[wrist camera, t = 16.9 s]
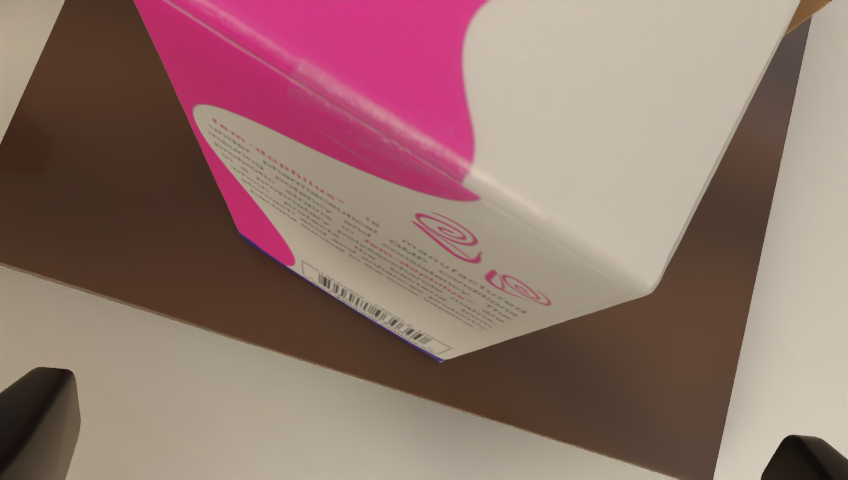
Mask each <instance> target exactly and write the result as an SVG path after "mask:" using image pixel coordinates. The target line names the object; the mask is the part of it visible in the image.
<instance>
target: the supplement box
mask: <svg viewBox="0 0 848 480" xmlns="http://www.w3.org/2000/svg"><path fill="white" fill-rule="evenodd" d="M133 1H134V3H135V5H136V7H137V9H138V12H139V14H140V16H141V18H142V20H143V22H144V24H145V27H146V29H147V31H148V33H149V35H150V37H151V39H152V42H153V44H154V46H155V48H156V50H157V52H158V54H159V57H160V59H161V61H162V63H163V65H164V68H165V70H166V72H167V74H168V76H169V79H170V81H171V83H172V85H173V88H174V90H175V92H176V95H177V97H178V99H179V101H180V103H181V105H182V107H183V109H184V112H185V114H186V116H187V119H188V121H189V123H190V125H191V128H192V130H193V132H194V134H195V136H196V138H197V140H198V143H199V145H200V147H201V149H202V152H203V154H204V156H205V158H206V161H207V163H208V165H209V168H210V170H211V172H212V174H213V176H214V178H215V180H216V183H217V185H218V187H219V189H220V191H221V193H222V195H223V197H224V199H225V202H226V204H227V207H228V209H229V211H230V213H231V215H232V218H233V220H234V223H235V225H236V227H237V230H238V233H239V235H240V236H241V237H242V238H243V239H245V240H246V241H247V242H248V243H249V244H250V245H252V246H253V247H255V248H256V249H258V250H259V251H261V252H262V253H264V254H265V255H267V256H268V257H270V258H271V259H273V260H274V261H276V262H277V263H279V264H281V265H282V266H284V267H285V268H287V269H288V270H290V271H291V272H293V273H295V274H296V275H298V276H299V277H301V278H302V279H304V280H306V281H307V282H309V283H310V284H312V285H314V286H315V287H317V288H318V289H320V290H322V291H323V292H325V293H326V294H328V295H330V296H331V297H333V298H334V299H336V300H338V301H339V302H341V303H342V304H344V305H346V306H347V307H349V308H350V309H352V310H353V311H355V312H357V313H358V314H360V315H361V316H363V317H365V318H366V319H368V320H370V321H371V322H373V323H375V324H376V325H378V326H379V327H381V328H383V329H384V330H386V331H388V332H389V333H391V334H393V335H394V336H396V337H398V338H399V339H401V340H402V341H404V342H406V343H408V344H409V345H411V346H413V347H414V348H416V349H418V350H420V351H421V352H423V353H425V354H426V355H428V356H430V357H431V358H433V359H435V360H436V361H438V362H441V363H442V362H444V361H446V360H447V359H452V358H455V357H457V356H460V355H463V354H467V353H470V352H473V351H476V350H480V349H482V348H485V347H488V346H491V345H494V344H497V343H500V342H503V341H506V340H509V339H512V338H514V337H518V336H521V335H524V334H528V333H531V332H534V331H537V330H540V329H543V328H547V327H549V326H551V325H555V324H559V323H562V322H564V321H567V320H570V319H574V318H577V317H580V316H583V315H586V314H590V313H594V312H596V311H599V310H603V309H606V308H609V307H612V306H615V305H618V304H621V303H624V302H627V301H630V300H634V299H637V298H640V297H643V296H647V295H648V294H650V293H652V292H653V291H654V290H655V288H656V287H657V285H658V284H659V282H660V281H661V278H662V276H663V274H664V272H665V270H666V268H667V266H668V264H669V262H670V260H671V258H672V256H673V255H674V253H675V251H676V249H677V247H678V245H679V243H680V241H681V239H682V237H683V235H684V233H685V231H686V229H687V227H688V225H689V223H690V221H691V219H692V217H693V215H694V213H695V211H696V209H697V207H698V205H699V203H700V201H701V199H702V197H703V195H704V193H705V191H706V189H707V187H708V185H709V183H710V181H711V179H712V177H713V175H714V173H715V171H716V169H717V167H718V165H719V163H720V161H721V159H722V157H723V155H724V153H725V151H726V149H727V147H728V145H729V143H730V141H731V139H732V137H733V135H734V133H735V131H736V129H737V127H738V125H739V123H740V121H741V119H742V117H743V115H744V113H745V111H746V109H747V107H748V105H749V103H750V101H751V99H752V97H753V95H754V93H755V91H756V89H757V87H758V85H759V83H760V81H761V79H762V77H763V75H764V73H765V71H766V69H767V67H768V65H769V64H770V62H771V60H772V58H773V56H774V54H775V52H776V50H777V48H778V46H779V44H780V42H781V40H782V38H783V36H784V34H785V32H786V30H787V28H788V26H789V24H790V22H791V20H792V18H793V15H794V13H795V11H796V9H797V7H798V5H799V3H800V1H801V0H133Z"/></svg>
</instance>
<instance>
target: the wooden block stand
mask: <svg viewBox="0 0 848 480" xmlns="http://www.w3.org/2000/svg"><path fill="white" fill-rule="evenodd" d="M830 1H832V0H801V1H800V3H799V5H798V7H797V9H796V11H795V13H794V15H793V18H792V20H791V22H790V24H789V26H788V28H787V30H786V32H785V34H784V36H783V38H782V40H781V42H780V44H779V46H778V48H777V50H776V52H775V54H774V56H773V58H772V60H771V62H770V64H769V65H768V67H767V69H766V71H765V73H764V75H763V77H762V79H761V81H760V83H759V85H758V87H757V89H756V91H755V93H754V95H753V97H752V99H751V101H750V103H749V105H748V107H747V109H746V111H745V113H744V115H743V117H742V119H741V121H740V123H739V125H738V127H737V129H736V131H735V133H734V135H733V137H732V139H731V141H730V143H729V145H728V147H727V149H726V151H725V153H724V155H723V157H722V159H721V161H720V163H719V165H718V167H717V169H716V171H715V173H714V175H713V177H712V179H711V181H710V183H709V185H708V187H707V189H706V191H705V193H704V195H703V197H702V199H701V201H700V203H699V205H698V207H697V209H696V211H695V213H694V215H693V217H692V219H691V221H690V223H689V225H688V227H687V229H686V231H685V233H684V235H683V237H682V239H681V241H680V243H679V245H678V247H677V249H676V251H675V253H674V255H673V256H672V258H671V260H670V262H669V264H668V266H667V268H666V270H665V272H664V274H663V276H662V278H661V281H660V282H659V284H658V285H657V287H656V288H655V290H654V291H653V292H652V293H650V294H648V295H647V296H643V297H640V298H637V299H634V300H630V301H627V302H624V303H621V304H618V305H615V306H612V307H609V308H606V309H603V310H599V311H596V312H594V313H590V314H586V315H583V316H580V317H577V318H574V319H570V320H567V321H564V322H562V323H559V324H555V325H551V326H549V327H547V328H543V329H540V330H537V331H534V332H531V333H528V334H524V335H521V336H518V337H514V338H512V339H509V340H506V341H503V342H500V343H497V344H494V345H491V346H488V347H485V348H482V349H480V350H476V351H473V352H470V353H467V354H463V355H460V356H457V357H455V358H452V359H447V360H446V361H444V362H442V363H441V362H438V361H436V360H435V359H433V358H431V357H430V356H428V355H426V354H425V353H423V352H421V351H420V350H418V349H416V348H414V347H413V346H411V345H409V344H408V343H406V342H404V341H402V340H401V339H399V338H398V337H396V336H394V335H393V334H391V333H389V332H388V331H386V330H384V329H383V328H381V327H379V326H378V325H376V324H375V323H373V322H371V321H370V320H368V319H366V318H365V317H363V316H361V315H360V314H358V313H357V312H355V311H353V310H352V309H350V308H349V307H347V306H346V305H344V304H342V303H341V302H339V301H338V300H336V299H334V298H333V297H331V296H330V295H328V294H326V293H325V292H323V291H322V290H320V289H318V288H317V287H315V286H314V285H312V284H310V283H309V282H307V281H306V280H304V279H302V278H301V277H299V276H298V275H296V274H295V273H293V272H291V271H290V270H288V269H287V268H285V267H284V266H282V265H281V264H279V263H277V262H276V261H274V260H273V259H271V258H270V257H268V256H267V255H265V254H264V253H262V252H261V251H259V250H258V249H256V248H255V247H253V246H252V245H250V244H249V243H248V242H247V241H246V240H245V239H243V238H242V237H241V236H240V235H239V233H238V230H237V227H236V225H235V223H234V220H233V218H232V215H231V213H230V211H229V209H228V207H227V204H226V202H225V199H224V197H223V195H222V193H221V191H220V189H219V187H218V185H217V183H216V180H215V178H214V176H213V174H212V172H211V170H210V168H209V165H208V163H207V161H206V158H205V156H204V154H203V152H202V149H201V147H200V145H199V143H198V140H197V138H196V136H195V134H194V132H193V130H192V128H191V125H190V123H189V121H188V119H187V116H186V114H185V112H184V109H183V107H182V105H181V103H180V101H179V99H178V97H177V95H176V92H175V90H174V88H173V85H172V83H171V81H170V79H169V76H168V74H167V72H166V70H165V68H164V65H163V63H162V61H161V59H160V57H159V54H158V52H157V50H156V48H155V46H154V44H153V42H152V39H151V37H150V35H149V33H148V31H147V29H146V27H145V24H144V22H143V20H142V18H141V16H140V14H139V12H138V9H137V7H136V5H135V3H134V1H133V0H65V2H64V5H63V7H62V9H61V11H60V13H59V16H58V18H57V20H56V22H55V25H54V27H53V29H52V31H51V33H50V36H49V38H48V40H47V42H46V44H45V47H44V49H43V51H42V53H41V56H40V58H39V60H38V62H37V64H36V67H35V69H34V71H33V73H32V75H31V78H30V80H29V82H28V84H27V87H26V89H25V91H24V93H23V95H22V98H21V100H20V102H19V104H18V106H17V109H16V111H15V113H14V115H13V118H12V120H11V122H10V124H9V126H8V129H7V131H6V133H5V135H4V137H3V140H2V142H1V144H0V266H3V267H6V268H10V269H13V270H16V271H19V272H22V273H25V274H29V275H32V276H35V277H38V278H41V279H45V280H48V281H51V282H54V283H57V284H60V285H64V286H67V287H70V288H73V289H76V290H79V291H83V292H86V293H89V294H92V295H95V296H98V297H102V298H105V299H108V300H111V301H114V302H117V303H121V304H124V305H127V306H130V307H133V308H137V309H140V310H143V311H146V312H149V313H152V314H156V315H159V316H162V317H165V318H168V319H171V320H175V321H178V322H181V323H184V324H187V325H190V326H194V327H197V328H200V329H203V330H206V331H209V332H213V333H216V334H219V335H222V336H225V337H229V338H232V339H235V340H238V341H241V342H244V343H248V344H251V345H254V346H257V347H260V348H263V349H267V350H270V351H273V352H276V353H279V354H282V355H286V356H289V357H292V358H295V359H298V360H301V361H305V362H308V363H311V364H314V365H317V366H321V367H324V368H327V369H330V370H333V371H336V372H340V373H343V374H346V375H349V376H352V377H355V378H359V379H362V380H365V381H368V382H371V383H374V384H378V385H381V386H384V387H387V388H390V389H393V390H397V391H400V392H403V393H406V394H409V395H413V396H416V397H419V398H422V399H425V400H428V401H432V402H435V403H438V404H441V405H444V406H447V407H451V408H454V409H457V410H460V411H463V412H466V413H470V414H473V415H476V416H479V417H482V418H485V419H489V420H492V421H495V422H498V423H501V424H505V425H508V426H511V427H514V428H517V429H520V430H524V431H527V432H530V433H533V434H536V435H539V436H543V437H546V438H549V439H552V440H555V441H558V442H562V443H565V444H568V445H571V446H574V447H577V448H581V449H584V450H587V451H590V452H593V453H597V454H600V455H603V456H606V457H609V458H612V459H616V460H619V461H622V462H625V463H628V464H631V465H635V466H638V467H641V468H644V469H647V470H650V471H654V472H657V473H660V474H663V475H666V476H670V477H673V478H676V479H679V480H713V477H714V472H715V467H716V463H717V458H718V453H719V448H720V444H721V439H722V434H723V430H724V425H725V420H726V416H727V411H728V406H729V402H730V397H731V392H732V387H733V383H734V378H735V373H736V369H737V364H738V359H739V355H740V350H741V345H742V341H743V336H744V331H745V326H746V322H747V317H748V312H749V308H750V303H751V298H752V294H753V289H754V284H755V280H756V275H757V270H758V266H759V261H760V256H761V251H762V247H763V242H764V237H765V233H766V228H767V223H768V219H769V214H770V209H771V205H772V200H773V195H774V190H775V186H776V181H777V176H778V172H779V167H780V162H781V158H782V153H783V148H784V144H785V139H786V134H787V129H788V125H789V120H790V115H791V111H792V106H793V101H794V97H795V92H796V87H797V83H798V78H799V73H800V69H801V64H802V59H803V54H804V50H805V45H806V40H807V36H808V31H809V26H810V22H811V17H812V15H813V14H814V13H816V12H817V11H818V10H820V9H821V8H822V7H824V6H825V5H826V4H828V3H829V2H830Z"/></svg>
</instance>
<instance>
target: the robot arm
mask: <svg viewBox="0 0 848 480" xmlns="http://www.w3.org/2000/svg"><path fill="white" fill-rule="evenodd" d="M80 422H81V418H80V409H79V401H78V393H77V385H76V379H75V375H74V374H73V372H72V371H70V370H68V369H58V368H47V367H38V368H35V369H33V370H31V371H29V372H28V373H27V374H25V375H24V376H23V377H21V378H20V379H19V380H17V381H16V382H14V383H13V384H12V385H10V386H9V387H8V388H6V389H5V390H4V391H2V392H1V393H0V480H65V479H66V476H67V472H68V469H69V466H70V462H71V459H72V456H73V453H74V449H75V446H76V443H77V440H78V436H79V431H80ZM761 480H848V460H847V459H846V458H845V457H844V456H843V455H841V454H840V453H839V452H838V451H837V450H835V449H834V448H833V447H832V446H830V445H829V444H828V443H827V442H825V441H824V440H823V439H821V438H818V437H813V436H802V435H789V436H787V437H786V438H784V439H783V441H782V442H781V444H780V445H779V447H778V448H777V450H776V452H775V453H774V455H773V457H772V458H771V460H770V462H769V463H768V465H767V467H766V468H765V470H764V472H763V474H762V477H761Z"/></svg>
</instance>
